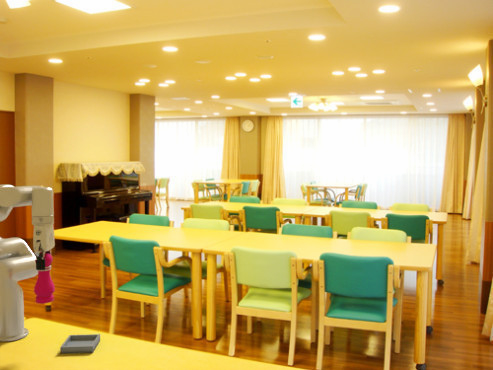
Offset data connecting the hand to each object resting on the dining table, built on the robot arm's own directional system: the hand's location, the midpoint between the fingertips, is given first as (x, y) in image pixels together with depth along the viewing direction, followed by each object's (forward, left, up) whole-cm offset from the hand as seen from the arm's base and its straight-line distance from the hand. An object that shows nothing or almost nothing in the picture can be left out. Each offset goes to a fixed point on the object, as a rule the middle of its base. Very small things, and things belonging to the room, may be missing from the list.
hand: (43, 267), depth 178 cm
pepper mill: (0, 0, -13) cm, 13 cm away
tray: (+13, 0, -31) cm, 34 cm away
